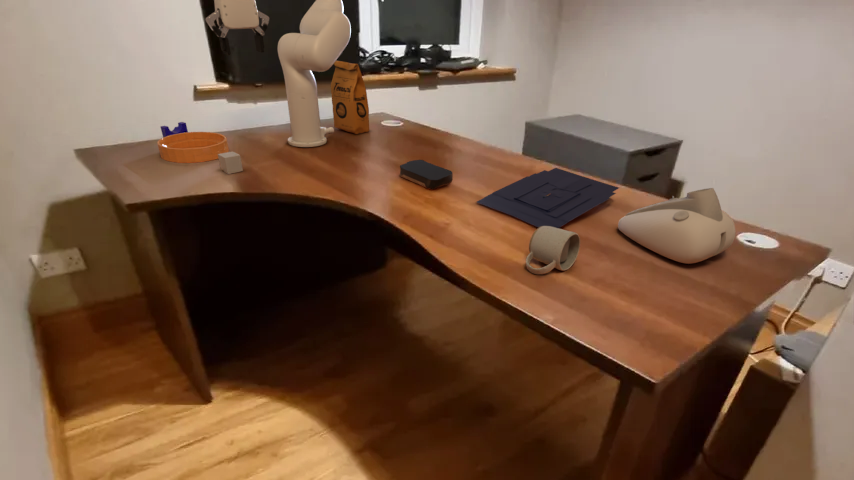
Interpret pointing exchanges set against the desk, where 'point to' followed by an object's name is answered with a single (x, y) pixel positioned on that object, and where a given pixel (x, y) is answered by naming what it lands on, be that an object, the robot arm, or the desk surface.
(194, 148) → the bowl
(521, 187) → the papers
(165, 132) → the cable holder
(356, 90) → the coffee package
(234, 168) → the block
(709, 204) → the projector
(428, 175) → the black sponge
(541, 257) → the ceramic mug
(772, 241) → the desk surface
